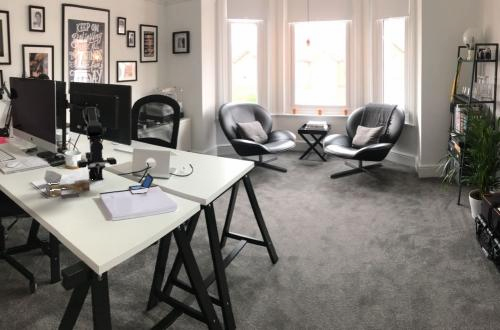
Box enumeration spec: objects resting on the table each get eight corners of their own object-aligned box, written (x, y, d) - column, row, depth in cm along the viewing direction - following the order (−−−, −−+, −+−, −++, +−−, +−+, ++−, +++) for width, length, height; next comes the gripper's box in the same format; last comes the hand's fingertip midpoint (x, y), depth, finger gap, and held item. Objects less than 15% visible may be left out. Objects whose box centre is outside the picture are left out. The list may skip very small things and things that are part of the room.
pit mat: (77, 193, 215) (77, 192, 215) (79, 196, 210) (79, 195, 210) (60, 195, 211) (60, 194, 211) (61, 198, 206) (61, 198, 206)
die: (61, 182, 236) (49, 168, 234) (68, 177, 231) (55, 163, 229) (50, 190, 230) (37, 177, 228) (56, 185, 225) (43, 171, 223)
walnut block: (87, 187, 225) (86, 179, 224) (89, 190, 220) (89, 182, 219) (75, 189, 222) (74, 180, 221) (77, 192, 217) (76, 183, 216)
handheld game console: (128, 188, 225) (127, 174, 223) (149, 186, 229) (148, 172, 228) (132, 195, 214) (131, 180, 212) (154, 192, 218) (153, 178, 216)
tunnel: (78, 187, 225) (78, 181, 224) (82, 192, 216) (81, 186, 215) (46, 191, 218) (45, 185, 217) (47, 196, 208) (47, 190, 208)
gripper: (111, 144, 231) (113, 173, 235) (74, 147, 222) (76, 177, 226) (116, 148, 222) (117, 177, 225) (77, 151, 213) (79, 182, 217)
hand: (98, 178), depth 224 cm, fingers closed
